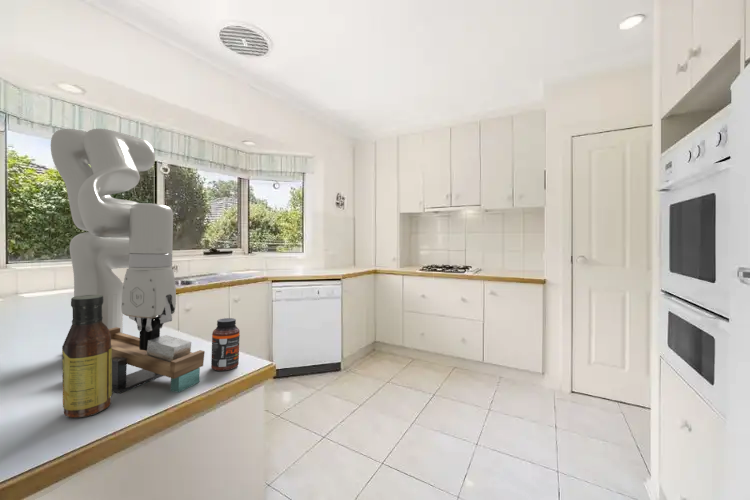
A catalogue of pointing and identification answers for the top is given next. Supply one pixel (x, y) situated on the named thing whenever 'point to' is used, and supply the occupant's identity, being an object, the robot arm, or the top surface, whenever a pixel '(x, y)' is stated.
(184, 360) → the beam
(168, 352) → the rider
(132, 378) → the fulcrum
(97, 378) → the sauce bottle
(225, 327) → the supplement bottle
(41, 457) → the top surface
